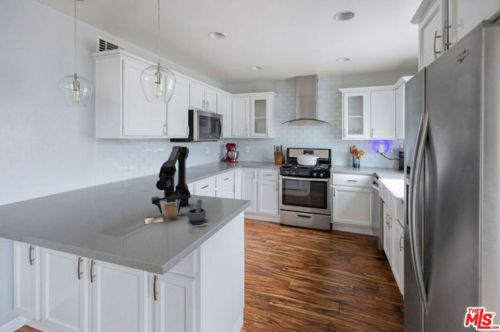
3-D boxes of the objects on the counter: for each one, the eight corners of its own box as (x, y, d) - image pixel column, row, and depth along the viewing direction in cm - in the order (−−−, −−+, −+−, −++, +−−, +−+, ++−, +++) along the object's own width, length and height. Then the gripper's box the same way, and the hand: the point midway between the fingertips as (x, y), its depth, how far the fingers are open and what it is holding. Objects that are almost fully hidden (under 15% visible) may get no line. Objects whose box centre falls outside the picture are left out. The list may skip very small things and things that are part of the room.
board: (176, 215, 150) (176, 204, 150) (180, 222, 138) (180, 210, 137) (143, 219, 143) (142, 208, 142) (144, 227, 130) (143, 215, 130)
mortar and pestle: (202, 227, 130) (201, 204, 129) (184, 226, 132) (184, 203, 130) (209, 220, 141) (208, 198, 140) (193, 219, 143) (192, 198, 141)
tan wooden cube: (174, 213, 149) (174, 202, 148) (176, 216, 144) (176, 205, 143) (164, 214, 146) (163, 203, 146) (165, 217, 141) (164, 206, 140)
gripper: (152, 190, 132) (153, 220, 134) (188, 187, 140) (189, 215, 141) (150, 187, 142) (152, 214, 144) (184, 184, 150) (185, 210, 152)
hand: (170, 213), depth 145 cm, fingers open, 9 cm apart
